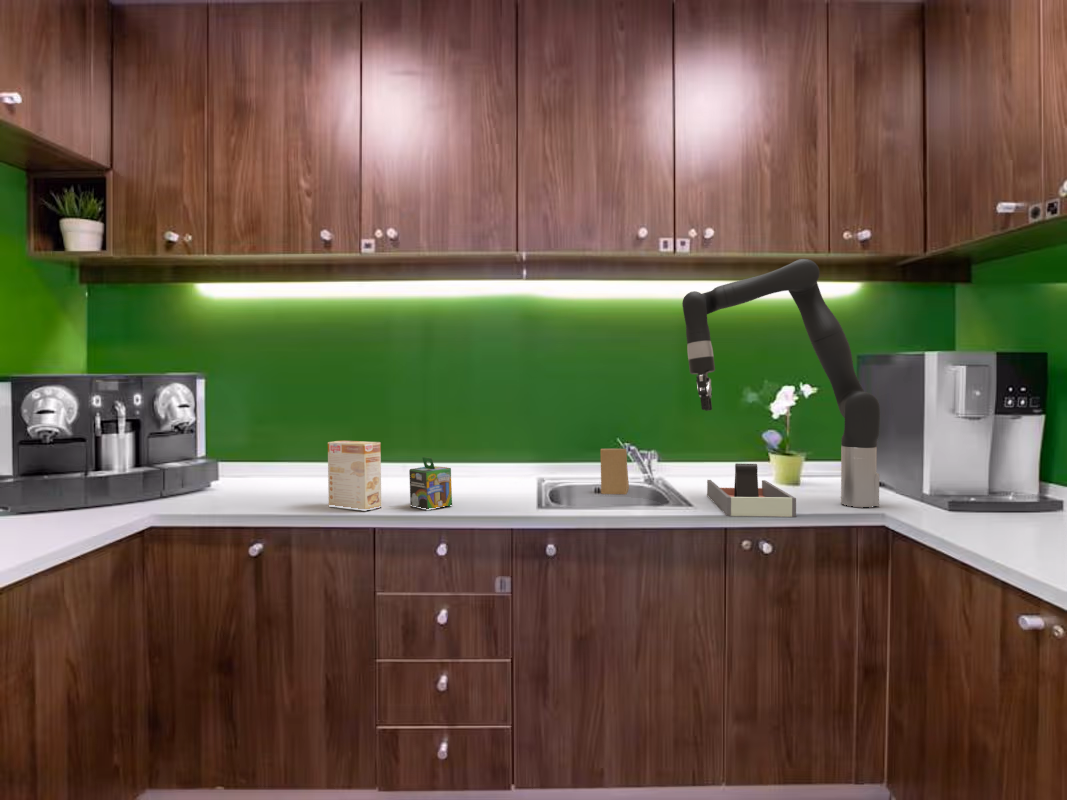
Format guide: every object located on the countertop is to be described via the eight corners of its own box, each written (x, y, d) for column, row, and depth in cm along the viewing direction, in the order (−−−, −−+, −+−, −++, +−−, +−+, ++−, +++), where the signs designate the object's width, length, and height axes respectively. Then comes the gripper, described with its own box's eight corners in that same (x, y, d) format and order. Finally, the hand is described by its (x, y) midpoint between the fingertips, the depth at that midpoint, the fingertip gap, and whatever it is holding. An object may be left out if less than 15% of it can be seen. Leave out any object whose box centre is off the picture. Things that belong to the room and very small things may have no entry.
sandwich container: (629, 487, 224) (629, 444, 224) (626, 494, 209) (626, 448, 209) (605, 486, 226) (605, 444, 226) (600, 494, 211) (600, 448, 211)
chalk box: (452, 506, 190) (452, 456, 190) (427, 511, 184) (426, 459, 183) (434, 502, 197) (433, 454, 196) (408, 507, 190) (408, 457, 190)
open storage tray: (765, 495, 205) (765, 480, 205) (795, 516, 173) (796, 498, 173) (707, 495, 207) (707, 479, 207) (727, 515, 175) (727, 497, 175)
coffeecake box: (382, 508, 189) (381, 441, 188) (364, 512, 182) (363, 443, 182) (345, 503, 196) (345, 439, 196) (327, 507, 190) (326, 441, 190)
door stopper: (759, 507, 187) (759, 465, 187) (737, 506, 188) (737, 465, 188) (754, 501, 196) (754, 462, 196) (733, 500, 197) (733, 461, 197)
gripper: (711, 353, 189) (717, 408, 188) (715, 358, 202) (721, 409, 201) (685, 356, 192) (691, 411, 190) (691, 361, 205) (697, 412, 204)
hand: (707, 410), depth 196 cm, fingers open, 8 cm apart
